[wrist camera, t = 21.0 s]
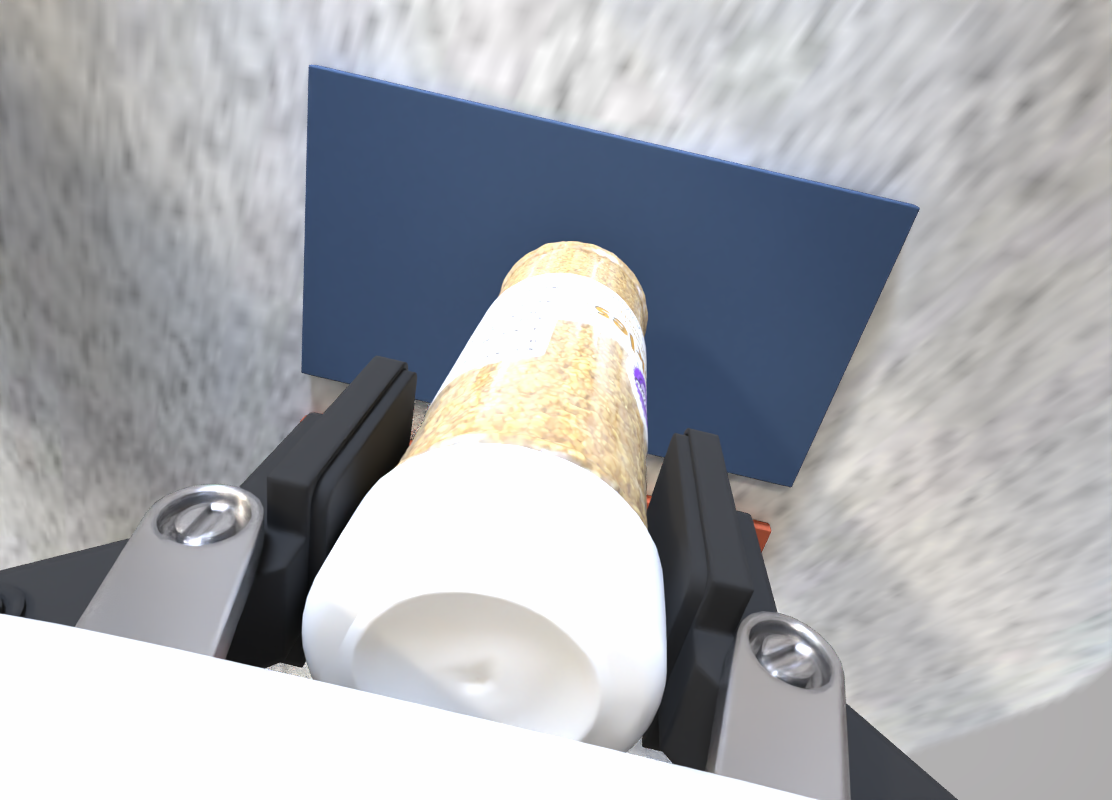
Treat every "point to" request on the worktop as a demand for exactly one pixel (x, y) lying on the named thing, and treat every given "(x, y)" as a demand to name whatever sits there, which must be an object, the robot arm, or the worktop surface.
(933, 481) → the worktop surface
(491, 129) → the slate-blue mat
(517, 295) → the sprinkles bottle
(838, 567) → the worktop surface
